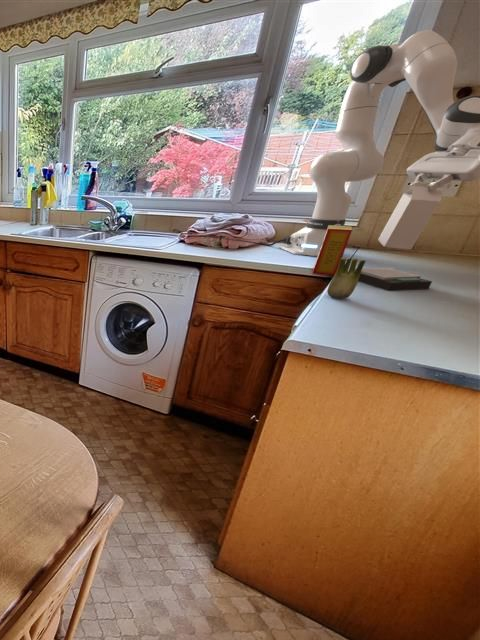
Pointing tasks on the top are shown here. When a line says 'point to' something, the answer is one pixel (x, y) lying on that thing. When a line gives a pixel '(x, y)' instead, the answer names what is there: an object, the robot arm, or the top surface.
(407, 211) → the milk carton
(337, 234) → the baking soda box
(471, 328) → the top surface
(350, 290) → the fennel bulb
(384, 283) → the scale
